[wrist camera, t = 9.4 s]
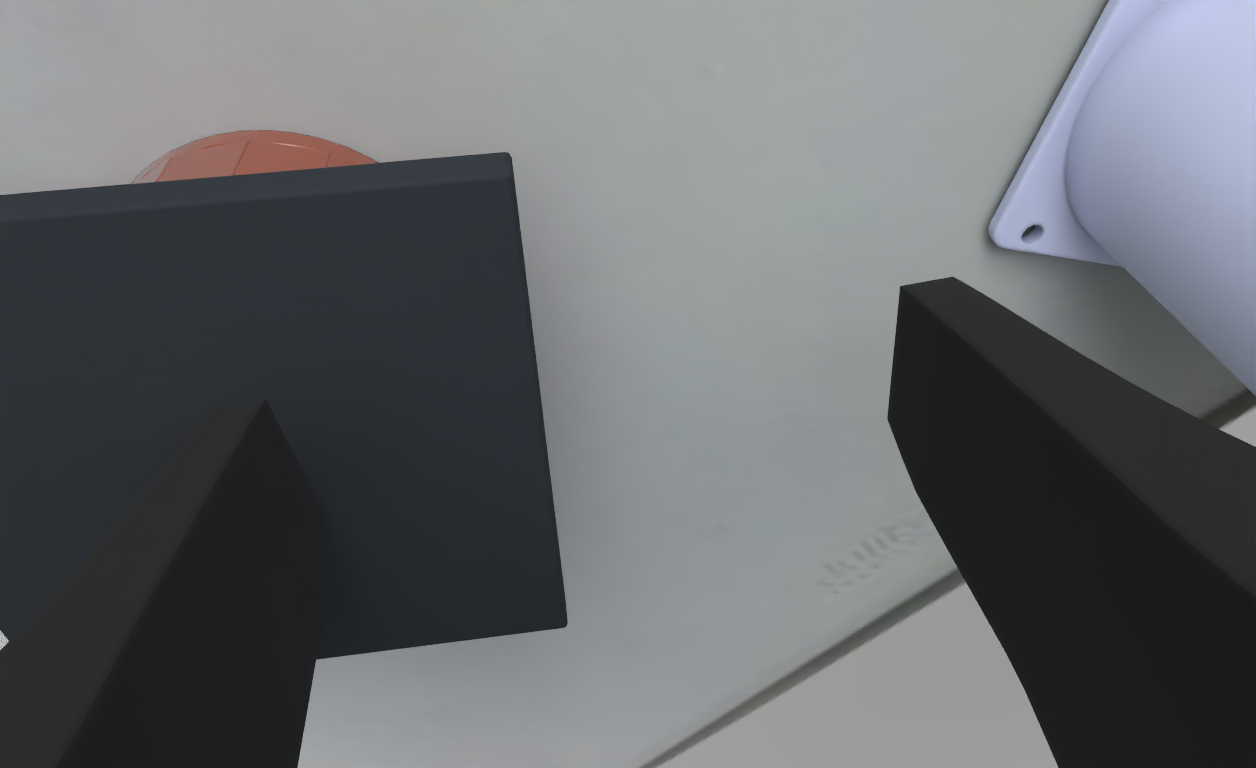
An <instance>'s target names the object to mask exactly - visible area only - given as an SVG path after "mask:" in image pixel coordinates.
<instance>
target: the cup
mask: <svg viewBox="0 0 1256 768" xmlns="http://www.w3.org/2000/svg"><path fill="white" fill-rule="evenodd" d="M373 163H378V162H376V161H374V160H373V159H371V158H369V157H367V156H365V155H363V154H361V153H358V152H356V151H354V150H352V149H350V148H348V147H345V146H342V145H339V144H336V143H333V142H330V141H327V140H324V139H321V138H317V137H312V136H307V135H303V134H298V133H291V132H281V131H271V130H260V131H238V132H231V133H224V134H217V135H214V136H210V137H206V138H203V139H199V140H196V141H193V142H190V143H188V144H186V145H184V146H181V147H179V148H177V149H174V150H172V151H170V152H169V153H167V154H166V155H164V156H163V157H161V158H159V159H158V160H156V161H155V162H153V163H152V164H151V165H150V166H148V167H147V168H146V169H145V170H144V171H143V172H142V173H141V174H139V175H138V176H137V177H136V178H135V180H134V181H133V182H132V183H131V184H138V183H149V182H161V181H173V180H185V179H196V178H208V177H220V176H232V175H243V174H255V173H267V172H279V171H290V170H302V169H314V168H326V167H337V166H349V165H361V164H373Z"/></svg>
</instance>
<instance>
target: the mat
mask: <svg viewBox="0 0 1256 768" xmlns="http://www.w3.org/2000/svg"><path fill="white" fill-rule="evenodd" d="M264 399H266V400H267V402H268V404H269V406H270V408H271V410H272V412H273V414H274V416H275V418H276V420H277V422H278V423H279V425H280V427H281V429H282V431H283V433H284V435H285V437H286V439H287V441H288V443H289V445H290V447H291V449H292V451H293V453H294V455H295V457H296V459H297V461H298V463H299V465H300V467H301V469H302V471H303V473H304V475H305V477H306V479H307V481H308V483H309V485H310V487H311V489H312V491H313V493H314V495H315V497H316V499H317V500H318V502H319V504H320V506H321V508H322V510H323V512H324V514H325V516H326V518H327V520H328V539H327V577H326V599H325V607H324V614H323V620H322V626H321V632H320V638H319V645H318V651H317V657H316V659H324V658H332V657H339V656H347V655H355V654H363V653H371V652H378V651H386V650H394V649H402V648H410V647H417V646H425V645H433V644H441V643H449V642H456V641H464V640H472V639H480V638H488V637H495V636H503V635H511V634H519V633H527V632H534V631H542V630H550V629H558V628H564V627H566V626H567V623H568V622H567V611H566V601H565V592H564V584H563V576H562V568H561V559H560V551H559V543H558V535H557V527H556V518H555V510H554V502H553V494H552V486H551V477H550V469H549V461H548V453H547V444H546V436H545V428H544V420H543V412H542V403H541V395H540V387H539V379H538V371H537V362H536V354H535V346H534V338H533V329H532V321H531V313H530V305H529V297H528V288H527V280H526V272H525V264H524V256H523V247H522V239H521V231H520V223H519V214H518V206H517V198H516V190H515V182H514V173H513V165H512V158H511V156H510V154H509V153H506V152H502V153H490V154H479V155H467V156H455V157H443V158H432V159H420V160H408V161H396V162H385V163H373V164H361V165H349V166H337V167H326V168H314V169H302V170H290V171H279V172H267V173H255V174H243V175H232V176H220V177H208V178H196V179H185V180H173V181H161V182H149V183H138V184H126V185H114V186H102V187H91V188H79V189H67V190H55V191H44V192H32V193H20V194H8V195H0V630H1V632H2V633H3V634H4V635H5V636H6V638H7V639H8V640H9V641H10V640H11V639H12V638H13V637H14V636H15V635H16V633H17V632H18V631H19V630H20V629H21V628H22V627H23V626H24V625H25V624H26V623H27V621H28V620H29V619H30V618H31V617H32V616H33V615H34V614H35V613H36V612H37V611H38V609H39V608H40V607H41V606H42V605H43V604H44V603H45V602H46V601H47V600H48V599H49V597H50V596H51V595H52V594H53V593H54V592H55V591H56V590H57V589H58V588H59V586H60V585H61V584H62V583H63V582H64V581H65V580H66V579H67V578H68V577H69V576H70V574H71V573H72V572H73V571H74V570H75V569H76V568H77V567H78V566H79V565H80V564H81V562H82V561H83V560H84V559H85V558H86V557H87V556H88V555H89V553H90V552H91V551H92V550H93V549H94V547H95V546H96V545H97V544H98V543H99V542H100V540H101V539H102V538H103V537H104V536H105V534H106V533H107V532H108V531H109V530H110V528H111V527H112V526H113V525H114V524H115V523H116V521H117V520H118V519H119V518H120V517H121V515H122V514H123V513H124V512H125V511H126V509H127V508H128V507H129V506H130V505H131V504H132V502H133V501H134V500H135V499H136V498H137V496H138V495H139V494H140V493H141V492H142V490H143V489H144V488H145V487H146V486H147V484H148V483H149V482H150V481H151V479H152V478H153V477H154V476H155V475H156V473H157V472H158V471H159V470H160V468H161V467H162V466H163V465H164V464H165V462H166V461H167V460H168V459H169V458H170V456H171V455H172V454H173V453H174V451H175V450H176V449H177V448H178V447H179V445H180V444H181V443H182V442H183V441H184V439H185V438H186V437H187V436H188V435H189V434H190V432H191V431H192V430H193V429H194V428H195V427H196V425H197V424H198V423H199V422H200V421H201V420H202V419H203V418H204V416H205V415H206V414H207V413H208V412H209V411H210V410H211V409H213V408H219V407H224V406H230V405H235V404H241V403H247V402H252V401H258V400H264Z"/></svg>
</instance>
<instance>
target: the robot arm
mask: <svg viewBox="0 0 1256 768" xmlns="http://www.w3.org/2000/svg"><path fill="white" fill-rule="evenodd" d="M1032 225H1035V227H1034V229H1033V230H1032V231H1031V232H1030V233H1028V234H1027V235H1024V236H1022V235H1023V233H1024V231H1025V230H1026V229H1027V228H1029V227H1031V226H1032ZM988 232H989V236H990V237H991V239H992V240H993V241H994V242H995V243H996V245H997V246H999V247H1001V248H1004V249H1010V250H1017V251H1023V252H1030V253H1036V254H1043V255H1049V256H1056V257H1062V258H1069V259H1075V260H1081V261H1088V262H1094V263H1101V264H1107V265H1114V266H1120V267H1123V268H1124V269H1125V270H1126V271H1127V272H1128V273H1129V274H1130V275H1131V276H1133V277H1134V278H1135V279H1136V280H1137V281H1138V282H1139V283H1140V284H1141V285H1142V286H1143V287H1144V288H1145V289H1146V290H1147V291H1148V292H1149V293H1150V294H1151V295H1152V296H1153V297H1154V298H1155V299H1156V300H1157V301H1158V302H1159V303H1160V304H1161V305H1162V306H1163V307H1164V308H1165V309H1166V310H1168V311H1169V312H1170V313H1171V314H1172V315H1173V316H1174V317H1175V318H1176V319H1177V320H1178V321H1179V322H1180V323H1181V324H1182V325H1183V326H1184V327H1185V328H1186V329H1187V330H1188V331H1189V332H1190V333H1191V334H1192V335H1193V336H1194V337H1195V338H1196V339H1197V340H1198V341H1199V342H1200V343H1201V344H1203V345H1204V346H1205V347H1206V348H1207V349H1208V350H1209V351H1210V352H1211V353H1212V354H1213V355H1214V356H1215V357H1216V358H1217V359H1218V360H1219V361H1220V362H1221V363H1222V364H1223V365H1224V366H1225V367H1226V368H1227V369H1228V370H1229V371H1230V372H1231V373H1232V374H1233V375H1234V376H1235V377H1237V378H1238V379H1239V380H1240V381H1241V382H1242V383H1243V384H1244V385H1245V386H1246V387H1247V388H1248V389H1249V390H1250V391H1251V392H1252V393H1253V394H1254V395H1255V396H1256V0H1109V1H1108V3H1107V5H1106V7H1105V9H1104V11H1103V12H1102V14H1101V16H1100V18H1099V20H1098V22H1097V24H1096V25H1095V27H1094V29H1093V31H1092V33H1091V35H1090V37H1089V39H1088V40H1087V42H1086V44H1085V46H1084V48H1083V50H1082V52H1081V53H1080V55H1079V57H1078V59H1077V61H1076V63H1075V65H1074V67H1073V68H1072V70H1071V72H1070V74H1069V76H1068V78H1067V80H1066V82H1065V83H1064V85H1063V87H1062V89H1061V91H1060V93H1059V95H1058V96H1057V98H1056V100H1055V102H1054V104H1053V106H1052V108H1051V110H1050V111H1049V113H1048V115H1047V117H1046V119H1045V121H1044V123H1043V124H1042V126H1041V128H1040V130H1039V132H1038V134H1037V136H1036V138H1035V139H1034V141H1033V143H1032V145H1031V147H1030V149H1029V151H1028V152H1027V154H1026V156H1025V158H1024V160H1023V162H1022V164H1021V166H1020V167H1019V169H1018V171H1017V173H1016V175H1015V177H1014V179H1013V180H1012V182H1011V184H1010V186H1009V188H1008V190H1007V192H1006V194H1005V195H1004V197H1003V199H1002V201H1001V203H1000V205H999V207H998V208H997V210H996V212H995V214H994V216H993V218H992V220H991V222H990V225H989V228H988ZM887 419H888V422H889V424H890V427H891V430H892V432H893V435H894V438H895V440H896V443H897V445H898V448H899V451H900V453H901V456H902V459H903V461H904V464H905V466H906V468H907V471H908V473H909V476H910V478H911V481H912V483H913V486H914V488H915V490H916V493H917V494H918V496H919V498H920V500H921V502H922V504H923V506H924V507H925V509H926V511H927V513H928V515H929V517H930V518H931V520H932V522H933V524H934V526H935V527H936V529H937V531H938V533H939V535H940V536H941V538H942V540H943V542H944V544H945V546H946V547H947V549H948V551H949V553H950V554H951V556H952V558H953V560H954V562H955V563H956V565H957V567H958V569H959V570H960V572H961V574H962V576H963V577H964V579H965V581H966V583H967V585H968V586H969V588H970V590H971V591H972V593H973V595H974V597H975V599H976V600H977V602H978V604H979V606H980V607H981V609H982V611H983V613H984V615H985V616H986V618H987V620H988V622H989V624H990V625H991V627H992V629H993V631H994V632H995V634H996V636H997V638H998V640H999V641H1000V643H1001V645H1002V647H1003V648H1004V650H1005V652H1006V654H1007V656H1008V658H1009V660H1010V662H1011V664H1012V666H1013V668H1014V670H1015V672H1016V674H1017V675H1018V677H1019V679H1020V681H1021V683H1022V685H1023V687H1024V689H1025V692H1026V694H1027V696H1028V698H1029V701H1030V703H1031V705H1032V707H1033V710H1034V712H1035V714H1036V717H1037V719H1038V721H1039V723H1040V726H1041V728H1042V730H1043V733H1044V735H1045V737H1046V740H1047V742H1048V744H1049V747H1050V749H1051V751H1052V753H1053V756H1054V758H1055V760H1056V763H1057V765H1058V767H1059V768H1256V447H1254V446H1252V445H1250V444H1248V443H1246V442H1244V441H1242V440H1240V439H1238V438H1236V437H1233V436H1231V435H1229V434H1227V433H1225V432H1223V431H1221V430H1219V429H1217V428H1215V427H1213V426H1211V425H1209V424H1207V423H1205V422H1204V421H1202V420H1200V419H1198V418H1196V417H1194V416H1192V415H1190V414H1188V413H1186V412H1184V411H1182V410H1181V409H1179V408H1177V407H1175V406H1173V405H1171V404H1169V403H1167V402H1165V401H1163V400H1161V399H1159V398H1158V397H1156V396H1154V395H1152V394H1150V393H1148V392H1147V391H1145V390H1143V389H1141V388H1139V387H1138V386H1136V385H1134V384H1132V383H1130V382H1129V381H1127V380H1125V379H1123V378H1122V377H1120V376H1118V375H1116V374H1115V373H1113V372H1111V371H1109V370H1108V369H1106V368H1104V367H1102V366H1101V365H1099V364H1097V363H1096V362H1094V361H1092V360H1091V359H1089V358H1087V357H1085V356H1084V355H1082V354H1080V353H1079V352H1077V351H1075V350H1074V349H1072V348H1070V347H1069V346H1067V345H1065V344H1064V343H1062V342H1060V341H1059V340H1057V339H1055V338H1054V337H1052V336H1051V335H1049V334H1047V333H1046V332H1044V331H1042V330H1041V329H1039V328H1038V327H1036V326H1034V325H1033V324H1031V323H1029V322H1028V321H1026V320H1025V319H1023V318H1021V317H1020V316H1018V315H1016V314H1015V313H1013V312H1012V311H1010V310H1008V309H1007V308H1005V307H1003V306H1002V305H1000V304H999V303H997V302H995V301H994V300H992V299H990V298H989V297H987V296H986V295H984V294H982V293H981V292H979V291H977V290H975V289H974V288H972V287H970V286H969V285H967V284H965V283H963V282H961V281H960V280H958V279H956V278H954V277H949V278H943V279H938V280H932V281H927V282H921V283H915V284H910V285H904V286H900V295H899V305H898V315H897V325H896V336H895V346H894V356H893V366H892V377H891V387H890V397H889V407H888V418H887ZM327 539H328V520H327V518H326V516H325V514H324V512H323V510H322V508H321V506H320V504H319V502H318V500H317V499H316V497H315V495H314V493H313V491H312V489H311V487H310V485H309V483H308V481H307V479H306V477H305V475H304V473H303V471H302V469H301V467H300V465H299V463H298V461H297V459H296V457H295V455H294V453H293V451H292V449H291V447H290V445H289V443H288V441H287V439H286V437H285V435H284V433H283V431H282V429H281V427H280V425H279V423H278V422H277V420H276V418H275V416H274V414H273V412H272V410H271V408H270V406H269V404H268V402H267V400H266V399H264V400H258V401H252V402H247V403H241V404H235V405H230V406H224V407H219V408H213V409H211V410H210V411H209V412H208V413H207V414H206V415H205V416H204V418H203V419H202V420H201V421H200V422H199V423H198V424H197V425H196V427H195V428H194V429H193V430H192V431H191V432H190V434H189V435H188V436H187V437H186V438H185V439H184V441H183V442H182V443H181V444H180V445H179V447H178V448H177V449H176V450H175V451H174V453H173V454H172V455H171V456H170V458H169V459H168V460H167V461H166V462H165V464H164V465H163V466H162V467H161V468H160V470H159V471H158V472H157V473H156V475H155V476H154V477H153V478H152V479H151V481H150V482H149V483H148V484H147V486H146V487H145V488H144V489H143V490H142V492H141V493H140V494H139V495H138V496H137V498H136V499H135V500H134V501H133V502H132V504H131V505H130V506H129V507H128V508H127V509H126V511H125V512H124V513H123V514H122V515H121V517H120V518H119V519H118V520H117V521H116V523H115V524H114V525H113V526H112V527H111V528H110V530H109V531H108V532H107V533H106V534H105V536H104V537H103V538H102V539H101V540H100V542H99V543H98V544H97V545H96V546H95V547H94V549H93V550H92V551H91V552H90V553H89V555H88V556H87V557H86V558H85V559H84V560H83V561H82V562H81V564H80V565H79V566H78V567H77V568H76V569H75V570H74V571H73V572H72V573H71V574H70V576H69V577H68V578H67V579H66V580H65V581H64V582H63V583H62V584H61V585H60V586H59V588H58V589H57V590H56V591H55V592H54V593H53V594H52V595H51V596H50V597H49V599H48V600H47V601H46V602H45V603H44V604H43V605H42V606H41V607H40V608H39V609H38V611H37V612H36V613H35V614H34V615H33V616H32V617H31V618H30V619H29V620H28V621H27V623H26V624H25V625H24V626H23V627H22V628H21V629H20V630H19V631H18V632H17V633H16V635H15V636H14V637H13V638H12V639H11V640H10V641H9V642H8V643H7V644H6V645H5V646H4V647H3V648H2V649H1V650H0V768H297V766H298V760H299V755H300V749H301V743H302V738H303V732H304V726H305V720H306V715H307V709H308V703H309V697H310V692H311V686H312V680H313V674H314V669H315V663H316V657H317V651H318V645H319V638H320V632H321V626H322V620H323V614H324V607H325V599H326V577H327Z"/></svg>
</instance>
